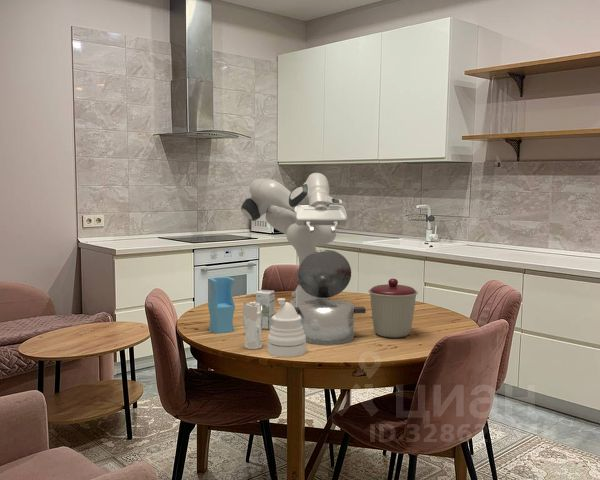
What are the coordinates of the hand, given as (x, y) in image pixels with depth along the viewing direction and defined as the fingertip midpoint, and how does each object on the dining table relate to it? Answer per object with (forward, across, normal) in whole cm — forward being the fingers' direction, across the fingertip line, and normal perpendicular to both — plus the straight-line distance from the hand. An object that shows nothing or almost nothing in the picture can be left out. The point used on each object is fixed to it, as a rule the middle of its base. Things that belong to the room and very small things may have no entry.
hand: (322, 232), depth 227 cm
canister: (+36, +25, +18) cm, 47 cm away
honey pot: (+49, -15, +4) cm, 52 cm away
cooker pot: (+37, 0, +16) cm, 40 cm away
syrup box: (+26, -22, +27) cm, 44 cm away
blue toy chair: (+28, -39, +25) cm, 54 cm away
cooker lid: (+17, 0, +5) cm, 17 cm away
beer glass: (+45, -26, +8) cm, 53 cm away
